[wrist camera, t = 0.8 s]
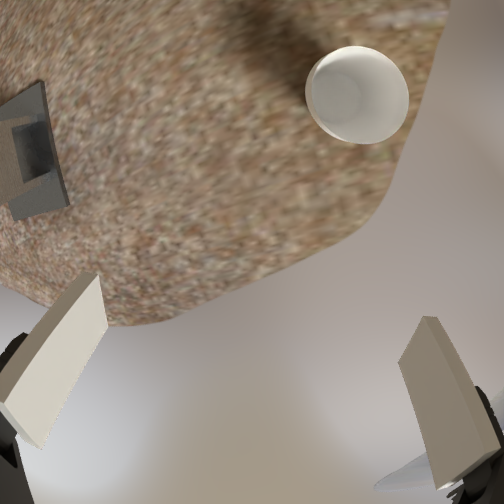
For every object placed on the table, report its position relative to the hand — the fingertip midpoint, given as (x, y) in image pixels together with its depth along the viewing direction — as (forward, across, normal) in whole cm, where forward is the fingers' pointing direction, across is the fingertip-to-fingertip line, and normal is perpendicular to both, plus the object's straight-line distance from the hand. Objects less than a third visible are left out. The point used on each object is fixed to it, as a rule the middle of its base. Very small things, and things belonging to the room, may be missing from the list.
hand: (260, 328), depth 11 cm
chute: (+29, -38, 0) cm, 48 cm away
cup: (+29, +7, +10) cm, 31 cm away
